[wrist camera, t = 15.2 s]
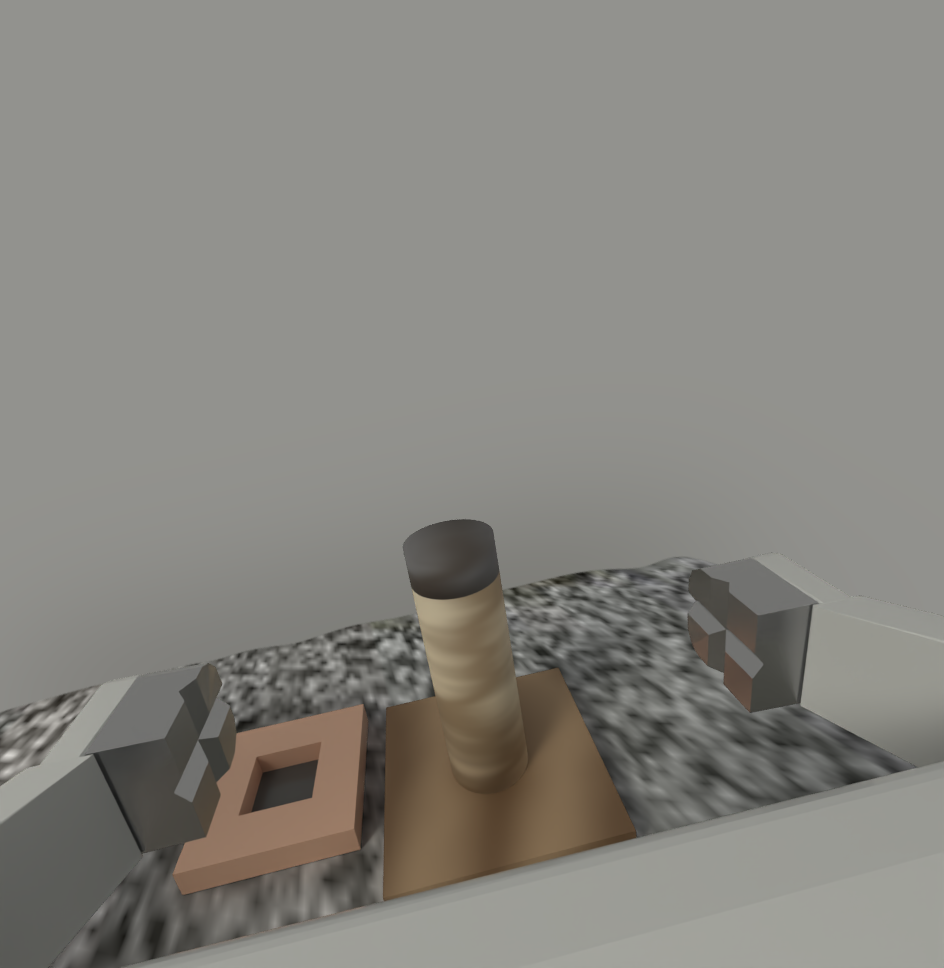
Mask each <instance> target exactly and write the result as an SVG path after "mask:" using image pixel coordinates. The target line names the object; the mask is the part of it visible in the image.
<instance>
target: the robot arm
mask: <svg viewBox="0 0 944 968" xmlns="http://www.w3.org/2000/svg"><path fill="white" fill-rule="evenodd" d="M688 592H689V593H690V594H691V595H692V596H693V598H694V599H695V600H696V602H695V603H694V605H693V606H692V608H691V609H690V611H689V612H688V632H689V635H690V638H691V642H692V645H693V647H694V649H695V650H696V652H697V654H698V656H699V657H700V658H701V659H702V660H703V661H704V663H705V664H706V665H707V666H709V667H711V668H713V669H716V670H718V671H720V672H723V673H724V685H725V686H726V687H727V688H728V689H729V690H730V692H731V693H732V694H733V695H734V696H735V697H736V698H737V699H738V700H739V701H740V703H741V704H742V705H743V706H744V707H745V708H746V709H747V710H748V711H749V712H750V713H752V712H757V711H762V710H767V709H772V708H778V707H783V706H788V705H793V704H798V703H801V704H800V706H802V707H804V708H806V709H808V710H810V711H811V712H813V713H815V714H817V715H819V716H821V717H823V718H825V719H827V720H829V721H831V722H832V723H834V724H836V725H838V726H840V727H842V728H844V729H846V730H848V731H850V732H852V733H853V734H855V735H857V736H859V737H861V738H863V739H865V740H867V741H869V742H871V743H873V744H874V745H876V746H878V747H880V748H882V749H884V750H886V751H888V752H890V753H892V754H894V755H895V756H897V757H899V758H901V759H903V760H905V761H907V762H909V763H911V764H913V765H915V766H916V767H918V768H914V769H910V770H906V771H902V772H898V773H894V774H890V775H886V776H882V777H878V778H874V779H870V780H866V781H862V782H858V783H854V784H850V785H846V786H842V787H838V788H834V789H830V790H826V791H822V792H818V793H814V794H810V795H806V796H802V797H798V798H794V799H790V800H786V801H782V802H778V803H774V804H770V805H766V806H762V807H758V808H754V809H750V810H746V811H742V812H738V813H734V814H730V815H726V816H722V817H718V818H714V819H710V820H706V821H702V822H698V823H694V824H690V825H686V826H682V827H678V828H674V829H670V830H666V831H662V832H658V833H654V834H650V835H646V836H642V837H638V838H634V839H630V840H626V841H622V842H618V843H614V844H610V845H606V846H602V847H598V848H594V849H590V850H586V851H582V852H578V853H574V854H570V855H566V856H562V857H558V858H554V859H550V860H546V861H542V862H538V863H534V864H530V865H526V866H523V867H519V868H515V869H511V870H507V871H503V872H499V873H495V874H491V875H487V876H483V877H479V878H475V879H471V880H467V881H463V882H459V883H455V884H451V885H447V886H443V887H439V888H435V889H431V890H427V891H423V892H419V893H415V894H411V895H407V896H403V897H399V898H395V899H391V900H387V901H383V902H379V903H375V904H371V905H367V906H363V907H359V908H355V909H351V910H347V911H343V912H339V913H335V914H331V915H327V916H323V917H319V918H315V919H311V920H307V921H303V922H299V923H295V924H291V925H287V926H283V927H279V928H275V929H271V930H267V931H263V932H259V933H255V934H251V935H247V936H243V937H239V938H235V939H231V940H227V941H224V942H220V943H216V944H212V945H208V946H204V947H200V948H196V949H192V950H188V951H184V952H180V953H176V954H172V955H168V956H164V957H160V958H156V959H152V960H148V961H144V962H140V963H136V964H132V965H128V966H124V967H120V968H944V616H942V615H938V614H934V613H929V612H926V611H921V610H917V609H913V608H909V607H905V606H901V605H897V604H893V603H888V602H885V601H881V600H877V599H872V598H868V597H864V596H855V597H850V596H849V595H847V594H846V593H844V592H842V591H841V590H839V589H837V588H836V587H834V586H832V585H831V584H829V583H827V582H826V581H824V580H823V579H821V578H819V577H818V576H816V575H814V574H813V573H811V572H810V571H808V570H806V569H805V568H803V567H801V566H800V565H798V564H796V563H795V562H793V561H792V560H790V559H788V558H787V557H785V556H783V555H782V554H778V553H767V554H763V555H759V556H754V557H750V558H746V559H743V560H738V561H734V562H729V563H725V564H720V565H715V566H710V567H706V568H701V569H696V570H692V572H691V575H690V577H689V587H688ZM221 686H222V682H221V679H220V677H219V674H218V672H217V669H216V667H215V666H213V665H211V664H209V663H206V664H200V665H194V666H188V667H183V668H177V669H171V670H165V671H159V672H154V673H148V674H144V675H136V676H131V677H126V678H121V679H116V680H111V681H109V682H107V683H105V684H102V685H101V686H100V688H99V689H98V690H97V691H96V693H95V694H94V695H93V697H92V698H91V699H90V701H89V702H88V703H87V704H86V706H85V707H84V708H83V710H82V711H81V712H80V713H79V715H78V716H77V717H76V719H75V720H74V721H73V723H72V724H71V725H70V726H69V728H68V729H67V730H66V732H65V733H64V734H63V735H62V737H61V738H60V739H59V741H58V742H57V743H56V745H55V746H54V747H53V748H52V750H51V751H50V752H49V754H48V755H47V756H46V758H45V759H44V760H43V761H42V763H41V764H40V765H38V766H34V767H29V768H26V769H25V770H23V771H22V772H21V773H19V774H18V775H16V776H15V777H13V778H12V779H10V780H9V781H7V782H6V783H5V784H3V785H2V786H0V968H48V967H49V966H50V964H51V963H52V962H53V961H54V960H55V959H56V957H57V956H58V955H59V954H60V953H61V952H62V950H63V949H64V948H65V947H66V946H67V945H68V944H69V942H70V941H71V940H72V939H73V938H74V937H75V935H76V934H77V933H78V932H79V931H80V930H81V928H82V927H83V926H84V925H85V924H86V923H87V921H88V920H89V919H90V918H91V917H92V916H93V914H94V913H95V912H96V911H97V910H98V909H99V907H100V906H101V905H102V904H103V903H104V902H105V900H106V899H107V898H108V897H109V896H110V895H111V894H112V892H113V891H114V890H115V889H116V888H117V887H118V885H119V884H120V883H121V882H122V881H123V880H124V878H125V877H126V876H127V875H128V874H129V873H130V871H131V870H132V869H133V868H134V867H135V866H136V864H137V863H138V862H139V861H140V860H141V859H142V857H143V855H142V854H143V853H147V852H151V851H155V850H158V849H162V848H166V847H170V846H174V845H178V844H182V843H186V842H189V841H193V840H197V839H201V838H205V837H206V836H207V834H208V831H209V828H210V825H211V822H212V819H213V816H214V813H215V811H216V808H217V805H218V802H219V799H220V796H221V794H220V791H219V788H218V786H217V783H216V782H217V781H218V780H219V779H220V778H221V777H222V776H223V775H224V774H225V773H226V772H227V771H228V770H229V769H230V767H231V764H232V761H233V757H234V754H235V746H236V734H237V733H236V726H235V719H234V716H233V713H232V710H231V707H230V706H229V705H228V704H226V703H225V702H223V701H222V700H220V699H219V698H217V695H218V693H219V691H220V688H221Z"/></svg>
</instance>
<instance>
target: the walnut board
mask: <svg viewBox="0 0 944 968" xmlns="http://www.w3.org/2000/svg"><path fill="white" fill-rule="evenodd" d="M516 682H517V688H518V695H519V701H520V707H521V714H522V720H523V727H524V733H525V740H526V746H527V752H528V763H527V767H526V770H525V772H524V773H523V775H522V777H521V778H520V779H519V780H518V781H517V782H516V783H515V784H514V785H512V786H511V787H509V788H508V789H506V790H503V791H501V792H497V793H493V794H479V793H474V792H471V791H469V790H467V789H465V788H464V787H462V786H461V785H460V784H459V783H458V782H457V781H456V779H455V777H454V775H453V772H452V768H451V763H450V759H449V754H448V750H447V745H446V741H445V736H444V732H443V727H442V723H441V718H440V714H439V709H438V705H437V700H436V696H434V697H430V698H426V699H422V700H417V701H413V702H409V703H404V704H400V705H396V706H391V707H387V708H386V758H385V817H384V876H383V899H384V901H387V900H391V899H395V898H399V897H403V896H407V895H411V894H415V893H419V892H423V891H427V890H431V889H435V888H439V887H443V886H447V885H451V884H455V883H459V882H463V881H467V880H471V879H475V878H479V877H483V876H487V875H491V874H495V873H499V872H503V871H507V870H511V869H515V868H519V867H523V866H526V865H530V864H534V863H538V862H542V861H546V860H550V859H554V858H558V857H562V856H566V855H570V854H574V853H578V852H582V851H586V850H590V849H594V848H598V847H602V846H606V845H610V844H614V843H618V842H622V841H626V840H630V839H634V838H636V830H635V828H634V826H633V824H632V821H631V819H630V817H629V815H628V813H627V811H626V809H625V807H624V805H623V803H622V800H621V798H620V796H619V794H618V792H617V790H616V788H615V786H614V784H613V782H612V779H611V777H610V775H609V773H608V771H607V769H606V767H605V765H604V763H603V761H602V758H601V756H600V754H599V752H598V750H597V748H596V746H595V744H594V742H593V739H592V737H591V735H590V733H589V731H588V729H587V727H586V725H585V723H584V721H583V718H582V716H581V714H580V712H579V710H578V708H577V706H576V704H575V702H574V700H573V697H572V695H571V693H570V691H569V689H568V687H567V685H566V683H565V681H564V678H563V676H562V674H561V672H560V670H559V668H555V669H550V670H546V671H542V672H537V673H533V674H529V675H525V676H520V677H516Z"/></svg>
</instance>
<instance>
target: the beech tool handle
mask: <svg viewBox="0 0 944 968" xmlns="http://www.w3.org/2000/svg"><path fill="white" fill-rule="evenodd" d="M403 551H404V556H405V560H406V565H407V569H408V574H409V578H410V583H411V587H412V592H413V596H414V601H415V605H416V610H417V614H418V619H419V623H420V628H421V632H422V637H423V641H424V646H425V650H426V655H427V660H428V664H429V669H430V673H431V678H432V682H433V687H434V691H435V696H436V700H437V705H438V709H439V714H440V718H441V723H442V727H443V732H444V736H445V741H446V745H447V750H448V754H449V759H450V763H451V768H452V772H453V775H454V777H455V779H456V781H457V782H458V783H459V784H460V785H461V786H462V787H464V788H465V789H467V790H469V791H471V792H474V793H479V794H493V793H497V792H501V791H503V790H506V789H508V788H509V787H511V786H512V785H514V784H515V783H516V782H517V781H518V780H519V779H520V778H521V777H522V775H523V773H524V772H525V770H526V767H527V763H528V752H527V746H526V740H525V733H524V727H523V720H522V714H521V707H520V701H519V695H518V688H517V682H516V675H515V669H514V662H513V656H512V649H511V643H510V637H509V630H508V624H507V617H506V611H505V604H504V598H503V592H502V585H501V579H500V573H499V566H498V559H497V553H496V547H495V540H494V534H493V530H492V528H491V527H490V526H489V525H488V524H486V523H484V522H481V521H476V520H464V519H463V520H450V521H444V522H440V523H436V524H432V525H429V526H427V527H424V528H422V529H420V530H418V531H416V532H415V533H413V534H412V535H410V536H409V537H408V538H407V539H406V541H405V542H404V544H403Z"/></svg>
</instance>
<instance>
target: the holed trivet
mask: <svg viewBox="0 0 944 968" xmlns="http://www.w3.org/2000/svg"><path fill="white" fill-rule="evenodd" d="M367 736H368V718H367V715H366V711H365V708H364V704H361V705H357V706H353V707H348V708H344V709H340V710H336V711H331V712H327V713H323V714H318V715H314V716H310V717H305V718H301V719H297V720H292V721H288V722H284V723H279V724H275V725H271V726H266V727H262V728H258V729H253V730H249V731H245V732H240V733H237V734H236V746H235V754H234V757H233V761H232V764H231V767H230V769H229V770H228V771H227V772H226V773H225V774H224V775H223V776H222V777H221V778H220V779H219V780H218V781H217V782H216V783H217V786H218V788H219V791H220V794H221V796H220V799H219V802H218V805H217V808H216V811H215V813H214V816H213V819H212V822H211V825H210V828H209V831H208V834H207V836H206V837H205V838H201V839H197V840H193V841H189V842H186V843H185V844H184V847H183V849H182V852H181V854H180V857H179V859H178V862H177V864H176V867H175V869H174V872H173V874H172V875H173V877H174V879H175V881H176V883H177V885H178V887H179V889H180V891H181V893H182V895H185V894H189V893H193V892H197V891H201V890H205V889H209V888H213V887H216V886H220V885H224V884H228V883H232V882H236V881H240V880H244V879H248V878H251V877H255V876H259V875H263V874H267V873H271V872H275V871H279V870H283V869H287V868H290V867H294V866H298V865H302V864H306V863H310V862H314V861H318V860H322V859H325V858H329V857H333V856H337V855H341V854H345V853H349V852H353V851H357V850H361V834H362V817H363V801H364V785H365V768H366V752H367Z"/></svg>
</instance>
